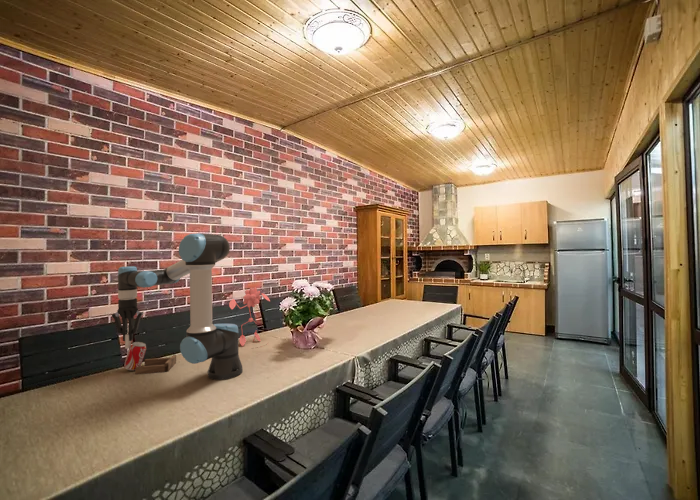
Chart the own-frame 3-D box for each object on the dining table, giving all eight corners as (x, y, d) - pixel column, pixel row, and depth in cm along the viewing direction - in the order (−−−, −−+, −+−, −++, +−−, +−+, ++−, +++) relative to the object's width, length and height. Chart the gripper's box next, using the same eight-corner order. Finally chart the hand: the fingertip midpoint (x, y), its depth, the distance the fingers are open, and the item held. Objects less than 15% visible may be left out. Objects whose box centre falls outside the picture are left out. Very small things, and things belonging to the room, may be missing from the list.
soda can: (131, 372, 151) (139, 347, 151) (119, 367, 152) (127, 342, 153) (143, 368, 157) (151, 344, 158) (132, 364, 159) (139, 340, 160)
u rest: (168, 371, 153) (168, 363, 153) (135, 374, 150) (135, 365, 150) (176, 362, 165) (176, 355, 165) (145, 365, 161) (145, 357, 161)
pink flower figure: (226, 347, 190) (226, 288, 190) (263, 338, 210) (264, 284, 209) (239, 353, 180) (240, 291, 180) (277, 343, 199) (278, 287, 199)
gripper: (146, 296, 159) (146, 344, 159) (116, 298, 157) (116, 346, 157) (139, 299, 152) (140, 348, 152) (108, 300, 149) (108, 351, 149)
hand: (128, 347), depth 154 cm, fingers closed
